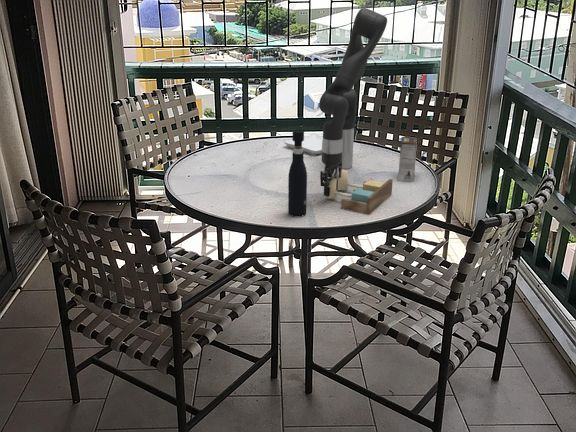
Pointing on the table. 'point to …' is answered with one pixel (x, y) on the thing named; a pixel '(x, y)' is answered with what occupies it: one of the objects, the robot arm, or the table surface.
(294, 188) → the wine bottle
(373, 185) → the yellow peg toy
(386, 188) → the lane rack
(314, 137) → the salad plate
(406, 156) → the coffee box
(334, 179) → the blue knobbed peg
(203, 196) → the table surface
